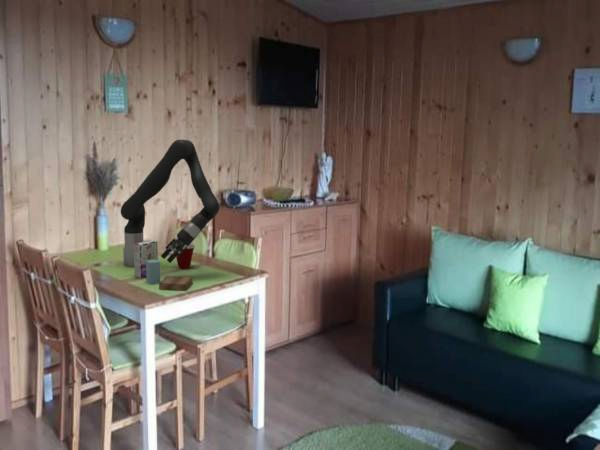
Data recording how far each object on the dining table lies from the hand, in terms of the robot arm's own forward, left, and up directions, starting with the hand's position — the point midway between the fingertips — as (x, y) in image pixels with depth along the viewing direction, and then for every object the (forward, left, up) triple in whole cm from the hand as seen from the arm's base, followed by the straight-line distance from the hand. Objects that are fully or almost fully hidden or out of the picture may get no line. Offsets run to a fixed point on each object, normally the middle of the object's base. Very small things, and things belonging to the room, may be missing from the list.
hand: (165, 259), depth 279 cm
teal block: (-5, -3, -10) cm, 12 cm away
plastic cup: (+2, +26, -10) cm, 28 cm away
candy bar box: (-12, +8, -10) cm, 17 cm away
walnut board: (+7, -8, -10) cm, 15 cm away
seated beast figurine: (-9, +54, -10) cm, 55 cm away
